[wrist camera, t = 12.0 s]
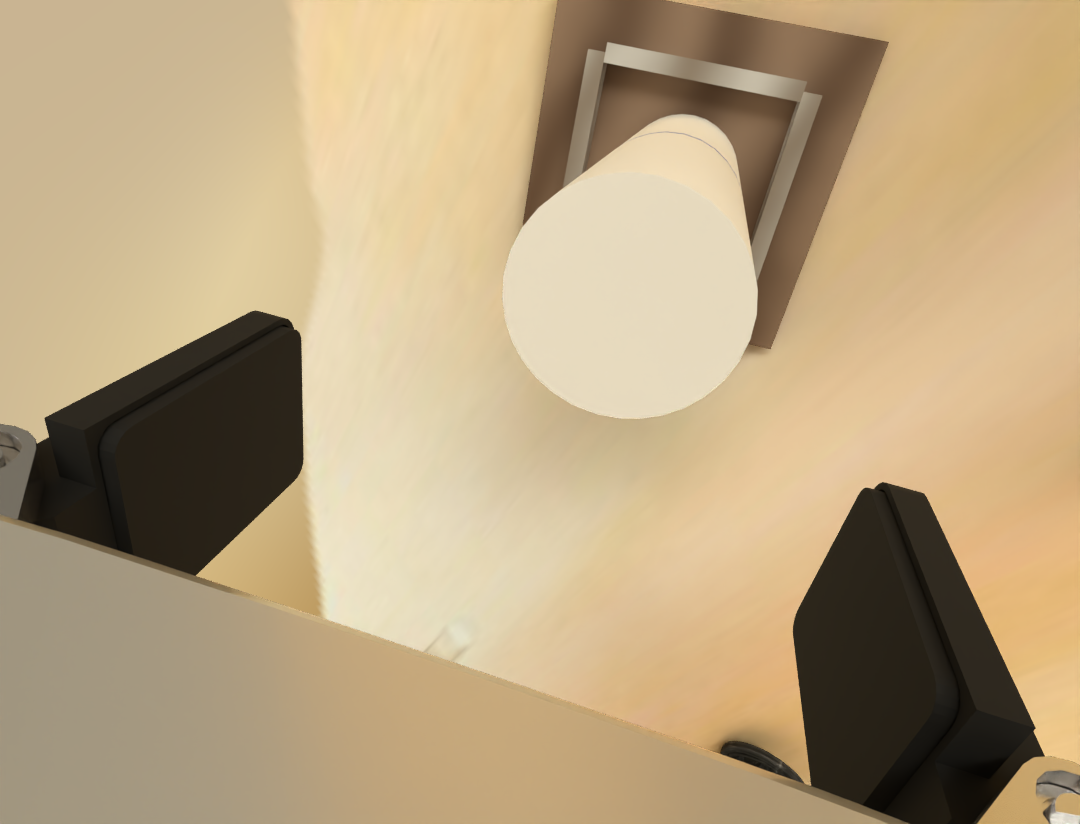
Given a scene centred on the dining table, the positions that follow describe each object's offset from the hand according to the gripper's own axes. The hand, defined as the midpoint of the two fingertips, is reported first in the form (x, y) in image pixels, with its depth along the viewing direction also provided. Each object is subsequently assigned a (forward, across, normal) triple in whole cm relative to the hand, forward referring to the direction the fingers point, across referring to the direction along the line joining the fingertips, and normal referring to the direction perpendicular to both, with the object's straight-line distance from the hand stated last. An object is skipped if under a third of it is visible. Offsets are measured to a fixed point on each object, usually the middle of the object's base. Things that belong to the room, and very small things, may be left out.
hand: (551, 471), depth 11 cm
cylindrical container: (+34, 0, 0) cm, 34 cm away
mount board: (+35, 0, 0) cm, 35 cm away
